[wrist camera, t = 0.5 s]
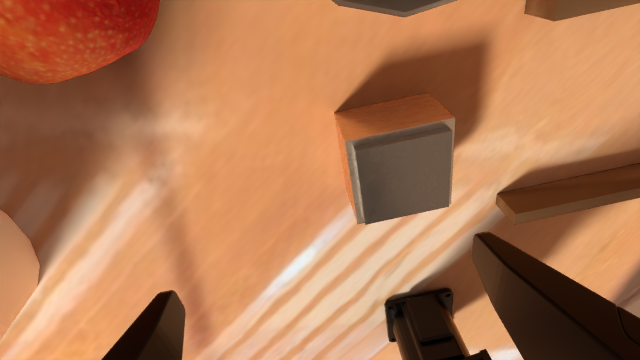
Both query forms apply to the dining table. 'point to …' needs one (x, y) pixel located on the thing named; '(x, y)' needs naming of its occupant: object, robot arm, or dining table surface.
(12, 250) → the canister
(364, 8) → the cup
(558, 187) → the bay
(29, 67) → the apple
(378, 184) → the light grey small box
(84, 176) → the dining table surface
